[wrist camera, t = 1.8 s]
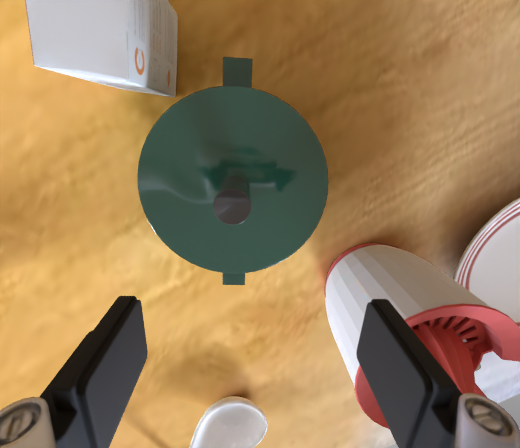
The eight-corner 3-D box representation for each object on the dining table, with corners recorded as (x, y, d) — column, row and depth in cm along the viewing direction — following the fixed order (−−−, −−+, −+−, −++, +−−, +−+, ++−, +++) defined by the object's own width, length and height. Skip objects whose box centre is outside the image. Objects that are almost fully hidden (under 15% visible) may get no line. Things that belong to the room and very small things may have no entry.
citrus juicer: (401, 326, 44) (518, 477, 25) (300, 312, 42) (344, 464, 23) (443, 241, 39) (629, 351, 20) (329, 219, 36) (418, 319, 18)
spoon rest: (233, 373, 46) (230, 416, 39) (279, 406, 49) (284, 451, 42) (145, 441, 50) (129, 490, 44) (192, 466, 54) (184, 515, 47)
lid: (151, 266, 28) (126, 303, 22) (131, 81, 22) (90, 65, 16) (313, 269, 29) (330, 305, 23) (337, 93, 23) (368, 83, 17)
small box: (115, 2, 27) (8, -98, 15) (179, 14, 28) (126, -73, 15) (119, 90, 30) (30, 66, 18) (176, 99, 30) (130, 82, 18)
